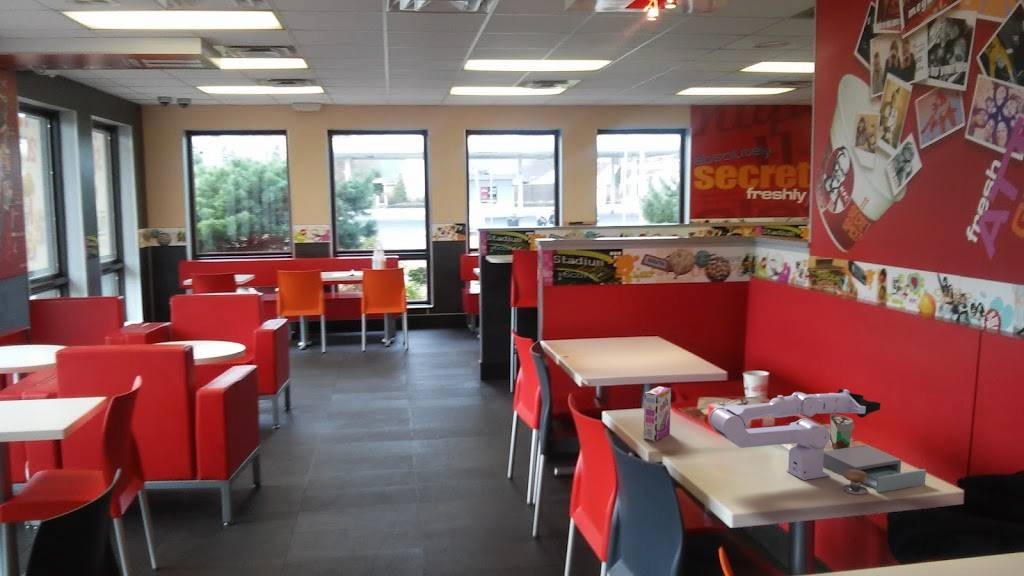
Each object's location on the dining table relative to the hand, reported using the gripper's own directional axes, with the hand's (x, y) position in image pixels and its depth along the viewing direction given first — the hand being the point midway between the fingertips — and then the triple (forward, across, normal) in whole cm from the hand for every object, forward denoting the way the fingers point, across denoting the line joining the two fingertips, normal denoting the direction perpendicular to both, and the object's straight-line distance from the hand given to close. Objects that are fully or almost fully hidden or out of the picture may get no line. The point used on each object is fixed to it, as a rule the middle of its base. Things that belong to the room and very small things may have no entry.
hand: (870, 402), depth 239 cm
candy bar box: (-48, +42, +24) cm, 69 cm away
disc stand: (-14, -15, +21) cm, 29 cm away
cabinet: (-2, -2, +20) cm, 21 cm away
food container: (+4, +15, +21) cm, 26 cm away
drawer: (-1, -11, +20) cm, 23 cm away
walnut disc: (-14, -15, +17) cm, 27 cm away
